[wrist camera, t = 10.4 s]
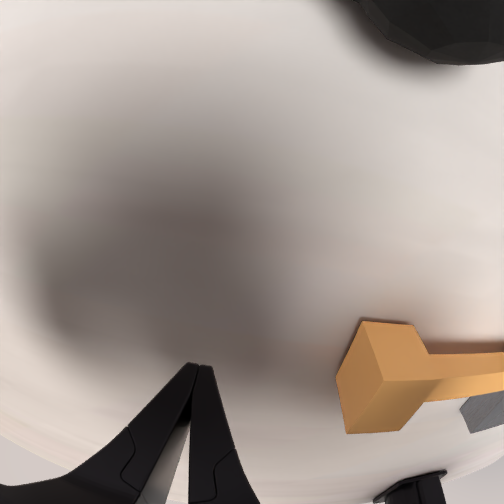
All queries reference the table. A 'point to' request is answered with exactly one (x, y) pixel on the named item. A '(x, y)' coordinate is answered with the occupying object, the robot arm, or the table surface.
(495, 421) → the frame
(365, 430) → the pin
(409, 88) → the table surface
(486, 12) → the microphone
